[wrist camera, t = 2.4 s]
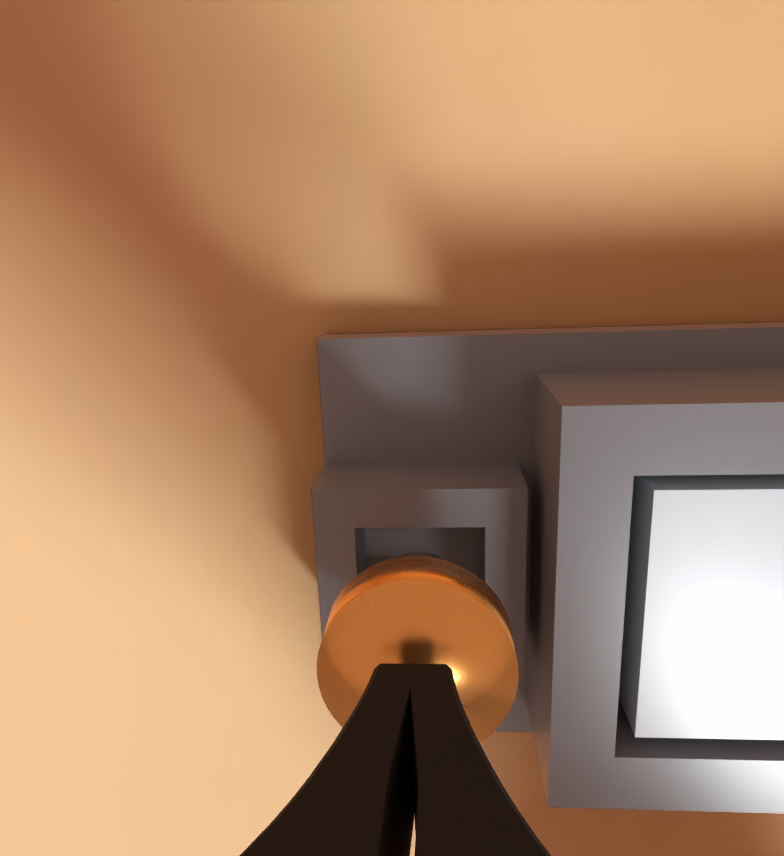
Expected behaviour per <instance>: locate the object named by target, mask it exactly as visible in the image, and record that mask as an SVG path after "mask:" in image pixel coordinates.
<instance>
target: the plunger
mask: <svg viewBox="0 0 784 856" xmlns="http://www.w3.org/2000/svg"><path fill="white" fill-rule="evenodd" d="M380 663H391V664H447V665H448V666H449V667H450V668H451V669H452V671H453V677H454V681H455V685H456V688H457V692H458V694H459V697H460V700H461V703H462V705H463V708H464V710H465V713H466V715H467V718H468V720H469V722H470V724H471V727H472V729H473V731H474V733H475V735H476V737H477V739H478V741H479V743H480V742H481V741H483V740H484V739H485V738H487V737H488V736H489V735H490V734H492V733H493V732H494V731H495V730H496V729H497V728H498V727H499V725H500V724H501V723H502V722H503V721H504V719H505V718H506V716H507V714H508V713H509V711H510V709H511V707H512V705H513V702H514V700H515V696H516V693H517V689H518V679H519V673H518V662H517V657H516V652H515V647H514V642H513V637H512V632H511V627H510V622H509V618H508V616H507V613H506V610H505V608H504V606H503V604H502V603H501V601H500V599H499V598H498V596H497V595H496V594H495V592H494V591H493V590H492V589H491V588H490V587H489V586H488V585H487V584H486V582H485V581H483V580H482V579H481V578H479V577H478V576H477V575H476V574H474V573H473V572H471V571H469V570H468V569H466V568H464V567H462V566H460V565H457V564H455V563H453V562H450V561H447V560H446V559H444V558H442V557H440V556H438V555H435V554H432V553H427V552H412V553H407V554H404V555H401V556H399V557H397V558H394V559H390V560H386V561H383V562H380V563H378V564H376V565H373V566H371V567H369V568H367V569H366V570H364V571H363V572H361V573H359V574H358V575H357V576H356V577H355V578H353V579H352V580H351V581H350V582H349V583H348V584H347V585H346V586H345V587H344V588H343V590H342V591H341V592H340V594H339V595H338V597H337V598H336V600H335V602H334V604H333V607H332V609H331V612H330V615H329V618H328V622H327V625H326V629H325V632H324V636H323V639H322V642H321V646H320V649H319V653H318V660H317V677H318V684H319V688H320V691H321V695H322V697H323V699H324V702H325V704H326V706H327V708H328V709H329V711H330V712H331V714H332V715H333V717H334V718H335V719H336V721H337V722H338V723H339V724H340V725H341V726H342V727H344V725H345V723H346V722H347V720H348V719H349V717H350V715H351V714H352V712H353V710H354V709H355V707H356V705H357V703H358V701H359V700H360V698H361V696H362V694H363V692H364V690H365V688H366V686H367V684H368V682H369V680H370V678H371V676H372V673H373V671H374V669H375V668H376V667H377V666H378V665H379V664H380Z"/></svg>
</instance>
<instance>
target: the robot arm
mask: <svg viewBox="0 0 784 856" xmlns="http://www.w3.org/2000/svg"><path fill="white" fill-rule="evenodd" d="M414 813H415V830H416V843H415V856H551V855H550V854H549V853H548V851H547V850H546V848H545V847H544V846H543V844H542V843H541V842H540V840H539V839H538V838H537V836H536V835H535V834H534V832H533V831H532V829H531V828H530V827H529V825H528V824H527V822H526V821H525V819H524V818H523V816H522V815H521V814H520V812H519V811H518V809H517V807H516V806H515V804H514V803H513V801H512V800H511V798H510V797H509V795H508V793H507V792H506V790H505V788H504V787H503V785H502V783H501V782H500V780H499V778H498V776H497V775H496V773H495V771H494V770H493V768H492V766H491V764H490V762H489V760H488V759H487V757H486V755H485V753H484V751H483V749H482V747H481V745H480V743H479V741H478V739H477V737H476V735H475V733H474V731H473V729H472V727H471V724H470V722H469V720H468V718H467V715H466V713H465V710H464V708H463V705H462V703H461V700H460V697H459V694H458V692H457V688H456V685H455V681H454V677H453V671H452V669H451V668H450V667H449V666H448V665H447V664H391V663H380V664H379V665H378V666H377V667H376V668H375V669H374V671H373V673H372V676H371V678H370V680H369V682H368V684H367V686H366V688H365V690H364V692H363V694H362V696H361V698H360V700H359V701H358V703H357V705H356V707H355V709H354V710H353V712H352V714H351V715H350V717H349V719H348V720H347V722H346V723H345V725H344V727H343V728H342V730H341V732H340V733H339V735H338V736H337V738H336V740H335V741H334V743H333V744H332V746H331V747H330V749H329V750H328V751H327V753H326V754H325V756H324V757H323V758H322V760H321V761H320V762H319V764H318V765H317V767H316V768H315V769H314V771H313V772H312V774H311V775H310V776H309V778H308V779H307V780H306V782H305V783H304V784H303V786H302V787H301V788H300V789H299V791H298V792H297V793H296V794H295V796H294V797H293V798H292V799H291V800H290V802H289V803H288V804H287V805H286V806H285V807H284V809H283V810H282V811H281V812H280V813H279V814H278V816H277V817H276V818H275V819H274V820H273V821H272V822H271V823H270V825H269V826H268V827H267V828H266V829H265V830H264V831H263V832H262V833H261V834H260V835H259V836H258V837H257V838H256V839H255V840H254V841H253V842H252V843H251V844H250V846H249V847H248V848H247V849H246V850H245V851H244V852H243V853H242V854H241V855H240V856H409V855H410V847H411V839H412V830H413V822H414Z"/></svg>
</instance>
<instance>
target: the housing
mask: <svg viewBox="0 0 784 856" xmlns="http://www.w3.org/2000/svg"><path fill="white" fill-rule="evenodd" d="M317 351H318V366H319V381H320V396H321V411H322V426H323V441H324V456H325V465H324V467H323V469H322V471H321V473H320V474H319V476H318V478H317V480H316V482H315V484H314V486H313V488H312V490H311V493H312V507H313V521H314V534H315V548H316V562H317V575H318V589H319V603H320V616H321V630H322V639H323V636H324V632H325V629H326V625H327V622H328V618H329V615H330V612H331V609H332V607H333V604H334V602H335V600H336V598H337V597H338V595H339V594H340V592H341V591H342V590H343V588H344V587H345V586H346V585H347V584H348V583H349V582H350V581H351V580H352V579H353V578H355V577H356V576H357V575H358V574H359V573H361V572H363V571H364V570H366V569H367V568H369V567H371V566H373V565H376V564H378V563H380V562H383V561H386V560H390V559H394V558H397V557H399V556H401V555H404V554H407V553H412V552H427V553H432V554H435V555H438V556H440V557H442V558H444V559H446V560H447V561H450V562H453V563H455V564H457V565H460V566H462V567H464V568H466V569H468V570H469V571H471V572H473V573H474V574H476V575H477V576H478V577H479V578H481V579H482V580H483V581H485V582H486V584H487V585H488V586H489V587H490V588H491V589H492V590H493V591H494V592H495V594H496V595H497V596H498V598H499V599H500V601H501V603H502V604H503V606H504V608H505V610H506V613H507V616H508V618H509V622H510V627H511V632H512V637H513V642H514V647H515V652H516V657H517V662H518V673H519V679H518V689H517V693H516V696H515V700H514V702H513V705H512V707H511V709H510V711H509V713H508V714H507V716H506V718H505V719H504V721H503V722H502V723H501V724H500V725H499V727H498V728H497V729H496V730H495V731H512V732H533V736H534V741H535V746H536V751H537V756H538V761H539V766H540V771H541V776H542V781H543V786H544V791H545V796H546V801H547V806H548V807H555V808H593V809H630V810H667V811H705V812H742V813H780V814H784V740H749V739H696V738H642V737H635V736H634V734H633V731H632V729H631V726H630V724H629V722H628V719H627V717H626V714H625V712H624V709H623V707H622V704H621V702H620V699H619V685H620V670H621V655H622V641H623V626H624V612H625V597H626V582H627V568H628V553H629V538H630V524H631V509H632V495H633V480H634V476H664V475H759V474H784V322H759V323H722V324H685V325H649V326H612V327H575V328H539V329H502V330H465V331H429V332H392V333H355V334H323V335H322V336H320V337H319V338H318V339H317ZM342 728H343V727H342Z"/></svg>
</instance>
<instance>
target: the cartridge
mask: <svg viewBox="0 0 784 856" xmlns="http://www.w3.org/2000/svg"><path fill="white" fill-rule="evenodd" d="M619 699H620V702H621V704H622V707H623V709H624V712H625V714H626V717H627V719H628V722H629V724H630V726H631V729H632V731H633V734H634V736H635V737H642V738H696V739H749V740H784V474H759V475H664V476H634V480H633V495H632V509H631V524H630V538H629V553H628V568H627V582H626V597H625V612H624V626H623V641H622V655H621V670H620V685H619Z"/></svg>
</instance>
